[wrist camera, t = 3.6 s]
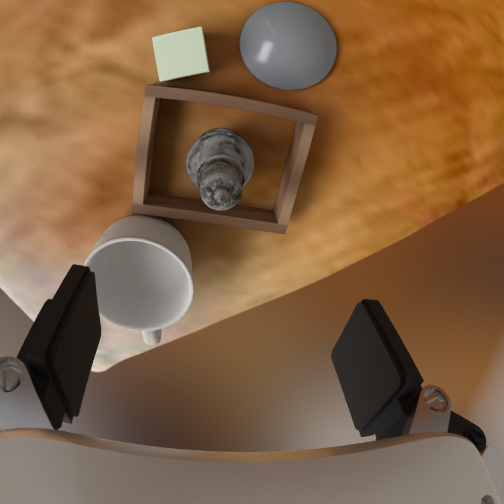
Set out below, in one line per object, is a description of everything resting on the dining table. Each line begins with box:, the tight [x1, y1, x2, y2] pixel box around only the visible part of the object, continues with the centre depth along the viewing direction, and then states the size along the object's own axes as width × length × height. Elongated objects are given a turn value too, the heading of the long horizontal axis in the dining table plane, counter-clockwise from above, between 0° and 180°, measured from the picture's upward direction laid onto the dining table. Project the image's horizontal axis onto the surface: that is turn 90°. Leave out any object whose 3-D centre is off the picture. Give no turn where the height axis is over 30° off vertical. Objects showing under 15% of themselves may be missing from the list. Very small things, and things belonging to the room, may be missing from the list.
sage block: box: [152, 27, 210, 82], centre depth 22 cm, size 4×4×4 cm
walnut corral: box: [132, 84, 318, 234], centre depth 28 cm, size 12×15×3 cm
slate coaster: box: [240, 2, 337, 90], centre depth 24 cm, size 9×9×1 cm
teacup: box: [84, 215, 194, 345], centre depth 31 cm, size 14×11×8 cm
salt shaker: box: [186, 128, 254, 210], centre depth 24 cm, size 6×6×12 cm
